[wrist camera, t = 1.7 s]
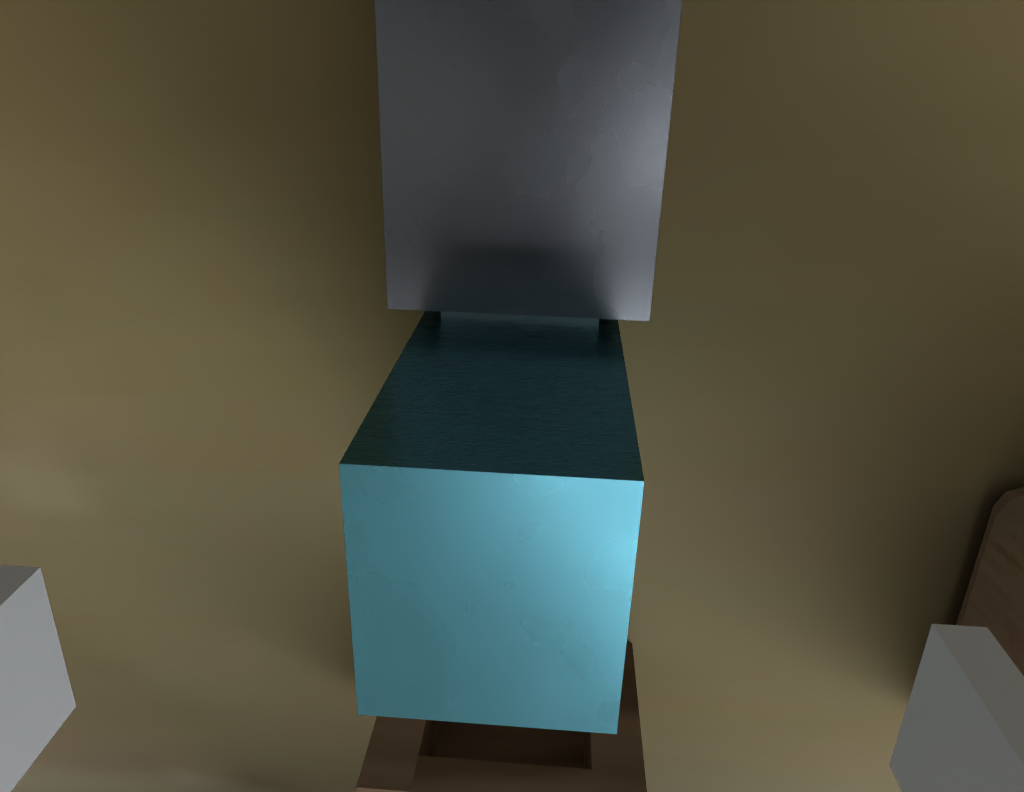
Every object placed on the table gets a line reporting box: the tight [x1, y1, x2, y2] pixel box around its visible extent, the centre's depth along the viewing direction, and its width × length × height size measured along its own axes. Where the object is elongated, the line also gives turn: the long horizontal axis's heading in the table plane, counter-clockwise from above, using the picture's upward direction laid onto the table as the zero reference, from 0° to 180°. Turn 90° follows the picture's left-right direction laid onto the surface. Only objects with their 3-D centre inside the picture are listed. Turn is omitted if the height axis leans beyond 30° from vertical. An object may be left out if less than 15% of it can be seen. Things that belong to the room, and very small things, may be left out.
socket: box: [356, 643, 647, 792], centre depth 25 cm, size 4×8×6 cm, turn 88°
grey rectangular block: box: [375, 0, 682, 321], centre depth 17 cm, size 11×6×6 cm, turn 179°
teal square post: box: [339, 311, 644, 734], centre depth 16 cm, size 19×4×10 cm, turn 179°
